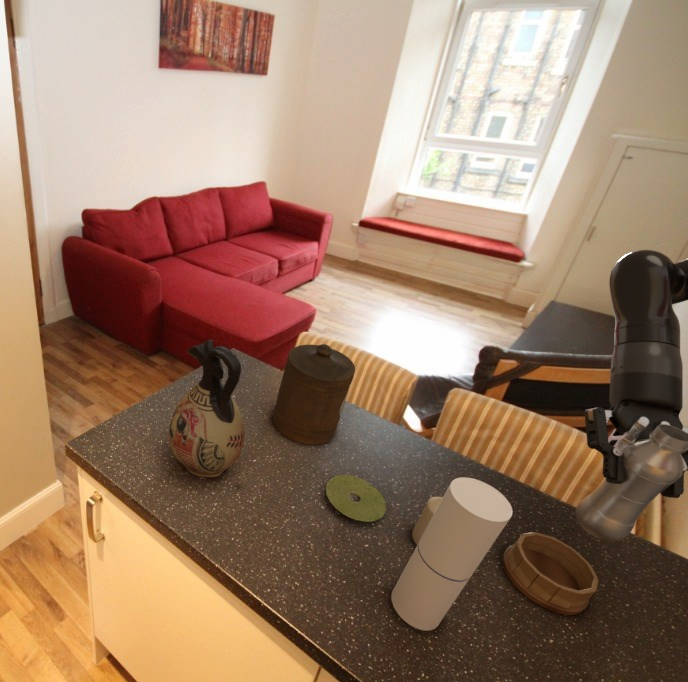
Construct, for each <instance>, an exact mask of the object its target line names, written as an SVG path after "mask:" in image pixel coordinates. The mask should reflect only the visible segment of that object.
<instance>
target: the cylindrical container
mask: <svg viewBox="0 0 688 682" xmlns="http://www.w3.org/2000/svg"><path fill="white" fill-rule="evenodd" d="M442 497H443V499H442V500H441V502H440V504H439V506H438V508H437V510H436V512H435V513H434V515H433V517H432V519H431V521H430V523H429V524H428V526H427V528H426V530H425V532H424V534H423V536H422V537H421V539H420V541H419V543H418V545H417V544H416V546H415V549H414V551H413V553H412V554H411V556H410V558H409V560H408V562H407V563H406V566H405V567H404V569H403V571H402V572H401V575H400V576H399V579H398V580H397V582H396V584H395V586H394V587H393V589H392V592H391V595H390V597H391V598H390V599H391V603H392V607H393V608H394V610H395V612H396V613H397V615H398V616H399V617H400V618H401V619H402V620H403V621H404V622H405V623H406V624H408V625H409V626H411V627H412V628H415V629H417V630H419V631H426V632H427V631H428V632H429V631H433V630H435V629H437V628H438V627H439V625H440V624H441V623H442V621H443V619H444V618H445V616H446V614H447V613H448V612H449V610H450V609H451V608H452V606H453V604H454V603H455V601H456V600H457V598H458V597H459V596H460V594H461V592H462V591H463V589H464V588H465V587H466V585H467V583H468V582H469V580H470V579H471V578H472V577H473V574H474V573H475V571H476V570H477V569H478V567H479V566H480V564H481V563H482V561H483V560H484V558H485V557H486V555H487V553H488V552H489V551H490V549H491V547H492V546H493V545H494V543H495V542H496V540H497V539H498V537H499V535H500V534H501V533H502V531H503V530H504V528H505V527H506V525H507V524H508V523H509V521H510V520H511V518H512V516H513V507H512V505H511V503H510V502H509V500H508V499H507V497H505V495H504V494H503V493H502V492H500V491H499V490H497V488H495V487H493V486H492V485H490V484H488V483H486V482H484V481H482V480H479V479H476V478H472V477H465V476H463V477H462V476H461V477H457V478H454V479H452V481H451V482H450V484H449V486H448V488H447V490H446V491H445V492H444V495H443V496H442Z"/></svg>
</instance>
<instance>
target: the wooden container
mask: <svg viewBox="0 0 688 682" xmlns="http://www.w3.org/2000/svg"><path fill="white" fill-rule="evenodd" d="M355 373H356V366H355V363H354V362H353V360H351V359H350V357H348V356H347V355H346V354H344V353H342V352H340V351H339V350H337V349H334V348H332V347H331V346H330V345H328V344H326V343H322V344H300V345H297V346H295V347H293V348H291V349H290V351H289V352H288V354H287V357H286V362H285V367H284V370H283V374H282V378H281V380H280V384H279V388H278V393H277V397H276V401H275V405H274V408H273V413H272V422H273V424H274V426H275V428H276V429H277V430H278V431H279V432H280V433H281V434H282V435H283V436H285V437H287V438H288V439H290V440H292V441H294V442H297V443H300V444H304V445H323V444H326V443H328V442H330V441H331V440H332V439H333V438H334V436H335V434H336V432H337V431H336V430H337V428H338V425H339V422H340V420H341V416H342V413H343V410H344V406H345V403H346V399H347V396H348V393H349V391H350V390H349V389H350V386H351V385H352V382H353V380H354V376H355Z"/></svg>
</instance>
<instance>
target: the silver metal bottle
mask: <svg viewBox="0 0 688 682" xmlns="http://www.w3.org/2000/svg"><path fill="white" fill-rule="evenodd" d="M649 437H650V438H648V439H642V440H638V441H635V442H634V443H633V444H631V445H628V446H627V448H626V449H625V451H624V453H623V455H621V456H620V457H622V458H623V461H624V464H623V465H624V470H623V483H622V484H613V483H608V482H607V481H606V478H605V477H604V479H603V481H602V482H601V483H600V484H599V485H598V486H597V487H596V488H595V489H594V490H593V491H592V492H591V493H590V494H588V495H586V496H585V497H584V498H582V500H581V501H579V502H578V504H577V507H576V509H575V511H574V516H575V520H576V522H577V524H578V525H579V526H580V528H582V529H583V530H584V531H585V532H586V533H587V534H589V535H591V536H593V537H594V538H596V539H599V540H601V541H604V542H610V543H611V542H620V541H622V540H624V539H625V538H627V537H628V536H629V535H630V534H631V533H632V532H633V530H634V527H635V525H636V522H637V520H638V519H639V517H640V516H641V515H642V513H643V511H644V510H646V507H647V506H648V505H649V504H650V503H651V502H652V501H653V500H655V498H656V497H657V496H658V495H660V494H661V492H662V491H664V490H665V489H666V488H668V487H669V486H670V485H672V484H673V483H674V482H676V481H677V480H678V479H679V478H680V477H681V476H682V473H683V470H684V466H683V460H682V456H681V453H684V452H686V451H687V449H688V433H686V432H685V431H683V430H681V429H679V428H676V427H674V426H670V425H666V424H660V425H658V426H657V427H656V429H655V430H654V431H652V432H651V433H650V434H649Z"/></svg>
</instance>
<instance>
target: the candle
mask: <svg viewBox="0 0 688 682" xmlns="http://www.w3.org/2000/svg"><path fill="white" fill-rule="evenodd" d="M443 497H444V496H433V497H430V498H429V499H428V501H427V502H426V504H425V506H424V508H423V510H422V512H421V514H420V515H419V518H418V520H417V521H416V523H415V525H414V527H413V530H412V531H411V537H412V540H413V542H414V544H415V545H416V546H417V545H418V543H419V541H420V539H421V537H422V536H423V534H424V532H425V530H426V528H427V526H428V524H429V523H430V521H431V519H432V517H433V515H434V513H435V512H436V510H437V508H438V506H439V504H440V502H441V500H442V499H443Z"/></svg>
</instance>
